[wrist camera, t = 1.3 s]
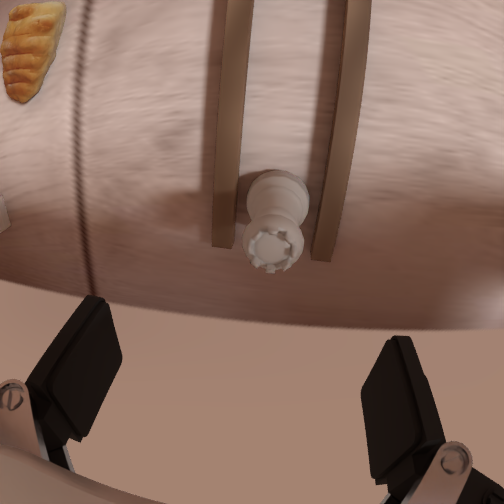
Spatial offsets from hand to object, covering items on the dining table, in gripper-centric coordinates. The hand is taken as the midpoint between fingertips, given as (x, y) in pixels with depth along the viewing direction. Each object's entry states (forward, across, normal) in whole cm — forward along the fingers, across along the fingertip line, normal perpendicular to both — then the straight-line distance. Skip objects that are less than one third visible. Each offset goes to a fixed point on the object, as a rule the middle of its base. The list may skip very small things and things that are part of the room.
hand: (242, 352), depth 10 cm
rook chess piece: (+15, -1, 0) cm, 15 cm away
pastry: (+16, +21, -13) cm, 29 cm away
